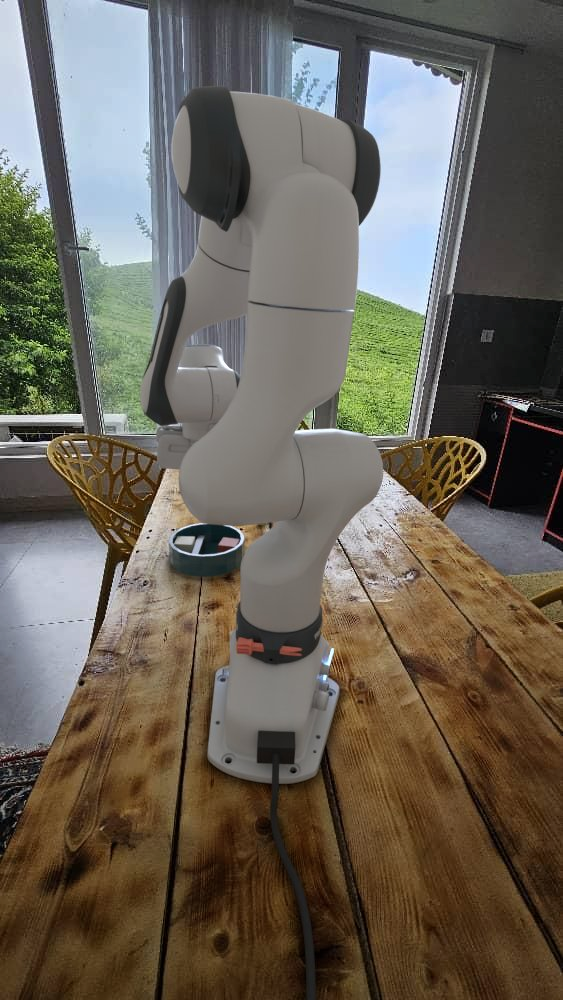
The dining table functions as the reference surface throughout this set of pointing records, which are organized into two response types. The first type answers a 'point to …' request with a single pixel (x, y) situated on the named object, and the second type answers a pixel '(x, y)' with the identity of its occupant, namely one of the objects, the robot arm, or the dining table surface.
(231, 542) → the terracotta block
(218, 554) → the bowl
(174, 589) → the dining table surface
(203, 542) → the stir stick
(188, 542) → the cream block
